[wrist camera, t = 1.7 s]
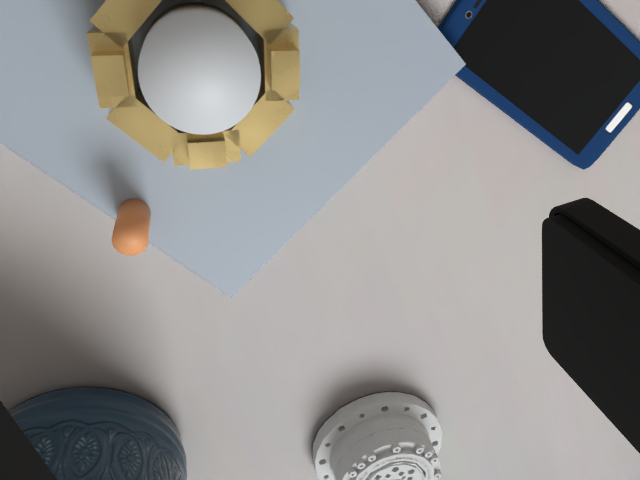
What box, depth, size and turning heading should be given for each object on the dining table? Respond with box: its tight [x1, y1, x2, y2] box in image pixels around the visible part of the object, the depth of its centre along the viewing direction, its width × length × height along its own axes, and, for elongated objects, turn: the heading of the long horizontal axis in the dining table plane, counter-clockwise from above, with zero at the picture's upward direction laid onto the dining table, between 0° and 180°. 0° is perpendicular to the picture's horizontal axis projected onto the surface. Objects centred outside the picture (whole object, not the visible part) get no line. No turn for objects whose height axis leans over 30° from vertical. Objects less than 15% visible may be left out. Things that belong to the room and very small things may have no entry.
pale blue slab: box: [0, 0, 466, 298], centre depth 25 cm, size 18×20×6 cm
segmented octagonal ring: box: [87, 0, 300, 170], centre depth 22 cm, size 14×8×6 cm, turn 44°
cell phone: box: [438, 0, 640, 169], centre depth 31 cm, size 7×14×1 cm, turn 56°
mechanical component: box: [312, 392, 442, 480], centre depth 41 cm, size 10×4×10 cm
